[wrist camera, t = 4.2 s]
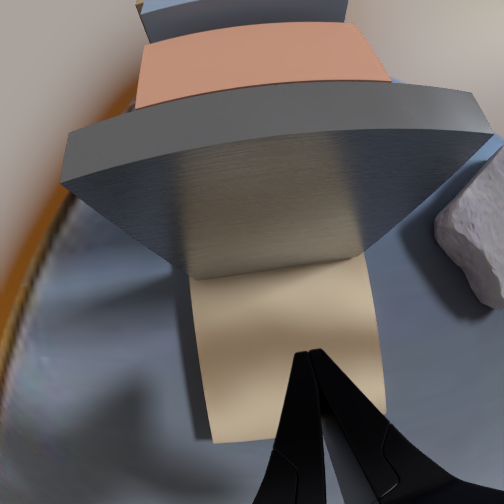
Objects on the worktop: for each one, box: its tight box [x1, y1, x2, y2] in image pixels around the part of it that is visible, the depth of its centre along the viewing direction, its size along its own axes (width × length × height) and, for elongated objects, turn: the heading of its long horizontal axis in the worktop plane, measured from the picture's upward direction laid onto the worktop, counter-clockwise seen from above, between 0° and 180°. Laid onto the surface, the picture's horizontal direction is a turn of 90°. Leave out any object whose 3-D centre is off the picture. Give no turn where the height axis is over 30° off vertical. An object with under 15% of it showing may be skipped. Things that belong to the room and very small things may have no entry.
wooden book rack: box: [135, 0, 386, 443], centre depth 13 cm, size 22×10×11 cm, turn 8°
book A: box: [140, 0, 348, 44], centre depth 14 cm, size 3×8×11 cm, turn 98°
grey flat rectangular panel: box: [60, 82, 494, 281], centre depth 11 cm, size 1×9×12 cm, turn 98°
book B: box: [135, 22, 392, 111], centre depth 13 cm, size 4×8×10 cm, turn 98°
